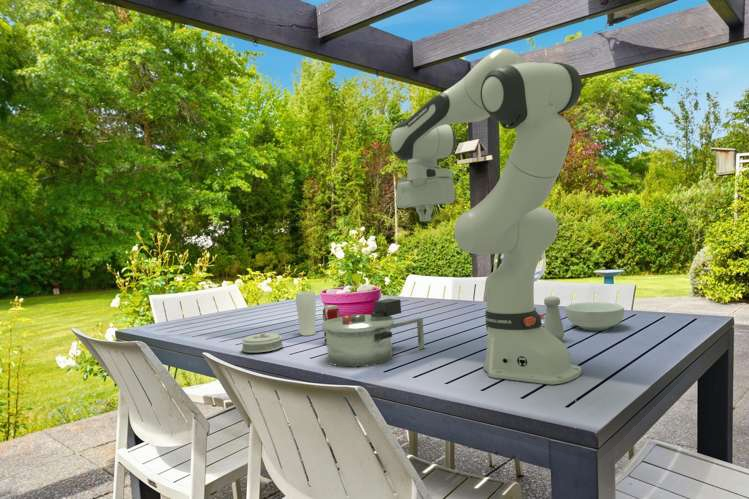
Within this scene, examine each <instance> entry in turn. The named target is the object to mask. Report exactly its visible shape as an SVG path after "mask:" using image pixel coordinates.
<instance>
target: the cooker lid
mask: <svg viewBox="0 0 749 499" xmlns="http://www.w3.org/2000/svg"><path fill="white" fill-rule="evenodd" d="M373 305H374V306H373V307H374V308H373V309H374V312H371V313H370V314H365V313H364V314H363V313H356V314H354V313H353V314H350V315H349V314H348V315H342V316H339V317H338V318H333V319H329V320H326V321H324V322H322V323H321V329H322V330H323V331H324V330H325V331H328V332H336V333H356V332H367V331H374V330H380V329H384V328H387V327H390V326H392V325H393V324H395V320H394V317H393V316H394V315H395V316H396V315H398V314H402V302H401V299H398V298H396V299H395V298H386V299H385V298H384V299H379V300H374V301H373Z"/></svg>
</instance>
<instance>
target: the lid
mask: <svg viewBox="0 0 749 499" xmlns="http://www.w3.org/2000/svg"><path fill="white" fill-rule="evenodd" d="M282 340H283V336H281V335H280V334H279V333H275V332H274V333H271V332H270V333H269V332H268V333H267V332H266V333H265V332H262V333H259V334H258V333H257V334H251V335H248V336H246V337H244V338H243V340H241V344H242V349H241V351H242V352H245V353H253V354H254V353H263V352H271V351H275V350H278V349H281V348H282V347H283V346H284V344H283V341H282Z"/></svg>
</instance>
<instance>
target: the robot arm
mask: <svg viewBox="0 0 749 499" xmlns="http://www.w3.org/2000/svg"><path fill="white" fill-rule="evenodd" d="M582 86H583V85H582V77H581V75H580V74H579V72H578V70H577V69H576V68H575V67H574V66H572V65H570V64H568V63H564V62H559V61H558V62H557V61H552V62H536V61H531V62H524V61H523V58H522V57H521V56H520V55H519V53H517V52H516V51H515V50H512V49H509V48H497V49H495V50H493V51H492V52H490V53H489V54H487V55H486V56H485V57H483V59H480V61H479V62H477V63H476V64H475V65H474V67H473V68H471V70H469V71H468V73H467V74H466V75H465V76H464V77H463V78H462V79H461V80H459V81H458V82H456V83H455V84H454V85H452V86H451V87H449V88H447V89H445V90H444V91H442V92H440V93H438V94H437V95H434V97H431V99H430V100H428V101H427V102H426V103H425V104H424V105H422V106H421V107H420V108H419V109H418V110H417V111H416V112H414V114H412V115H411V116H410V117H409V118H408V119H406V120H404V121H400V122H399V123H397V125H396V126H395V127H394V128H393V129H392V130H391V133H390V136H389V147H390V149H391V150H390V151H391V152H392V153H393V154H394V155H395V156H396V157H397V159H399V160H400V161H407V163H406V166H407V167H406V169H407V170H406V171H407V176H406V177H404V176H403V177H401V178H399V180H398V181H397V184H396V193H395V194H396V196H395V197H396V198H395V204H396V206H397V208H399V209H406V208H415V210H416V213H417V214H418V216H419V221H420V222H431V221H432V214H433V212H434V209H435V208H434V207H435V206H436V205H445V204H453V203H454V201H455V200H456V190H455V184H454V180H453V179H452V177H453V171H452V170H451V169H448V168H444V167H440V166H438V161H437V159H445V158H449V157H450V156H451V155H452V154H453V153H454V151H455V150H456V146H457V135H456V132H455V130H454V128H453V127H452V126H451V124H463V123H477V122H481V121H484V120H486V119H488V118H490V117H491V118H492V119H493V120H495V121H496V122H498V123H499V124H500V126H501V127H502V128H504V129H506V130H513V129H515V132H516V138H515V141H514V144H513V146H512V148H511V151H510V153H509V155H508V156H509V157H508V158H507V161H506V163H505V167H504V168H503V171H502V173H501V174H500V178H499V179H498V181H497V183H496V185H495V186H494V188H493V189H491V190H490V192H489V193H488V194H487V195H486V196H485V197H484V199H482V200H480V202H479V203H477V204H476V205H475V206H474V207H472V208H470V209H469V210H466V211H464V212H463V213H461V214H459V217H458V218H457V220H456V222H455V225H454V228H453V229H454V231H453V232H454V233H453V234H454V239H455V242H456V243H457V245H458V248H460V249H461V251H463V252H464V253H467V254H473V255H480V256H481V255H482V256H487V255H498V254H499V255H500V254H503V258H502V261H501V263H500V265H499V266H498V267H497V268H496V269H494V270H493V271H492V272H491V273H489V274H488V276H487V278H486V279H485V295H486V296H485V298H486V310H485V314H484V315H485V316H484V317H485V327H486V331H487V337H486V338H487V340H486V350H485V358H484V363H483V367H482V368H483V370H484V371H485V372H486V373H487V374H488V377H489V378H493V379H495V378H496V379H501V380H502V379H504V380H511V381H520V382H528V383H535V384H543V385H558V384H559V385H560V384H564V383H567V382H571V381H573V380H574V379H577V378H578V377H579V376H581V375H582V373H583V371H582V368H581V366H580V365H576V364H572V361H571V360H572V359H571V357H570V356H571V355H570V351H569V348H568V346H567V345H566V344H565V343H564V342H563V341H562V342H561V341H560V340H559V339H557V338H556V337H555V336H554V335H552V334H551V333H550V332H549V331H548V330H546V329H545V328H544V325H543V323H542V320H545V317H544V316H546V313H542V314H539V313H538V311H537V310H536V308H535V302H534V300H535V298H534V293H535V292H534V290H535V289H534V285H535V282H534V281H535V274H536V270H537V267H538V264H539V262H540V259H541V258H542V255H543V254H544V253H545V251H546V250H547V249H548V248H549V246H550V247H551V245H552V244H553V243H554V242H555V240H556V238H557V235H558V230H559V229H558V222H557V219H556V217H555V215H554V213H553V212H552V211H551V210H550V209H548V208H544V207H541V206H542V205H544V203H545V202H546V201H547V199H548V197H549V195H550V193H551V192H552V189H553V187H554V185H555V183H556V180H557V178H558V176H559V175H560V173H561V170H562V167H563V166H564V163H565V161H566V157H567V155H568V152H569V147H570V144H571V140H572V135H573V134H572V133H573V132H572V131H573V129H572V126H571V124H570V123H569V121H568V120H567V119H566V118H565V117H563V115H560V114H561V113H562V114H563V113H565V112H567V111H568V110H570V109H571V108H573V107H574V106H575V105H576V104H577V102H578V101H579V99H580V96H581V93H582ZM424 210H426V211H425V212H424Z"/></svg>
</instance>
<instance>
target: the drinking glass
mask: <svg viewBox="0 0 749 499" xmlns="http://www.w3.org/2000/svg"><path fill="white" fill-rule="evenodd" d="M295 304H296V310H297V317H298V324H299V331H300V332H299V333H300V335H301V336H302V337H303V336H304V337H308V336H313V335H315V334H316V307H317V304H316V292H315V291H312V290H311V291H310V290H309V291H308V290H307V291H299V292H296V293H295Z"/></svg>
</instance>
